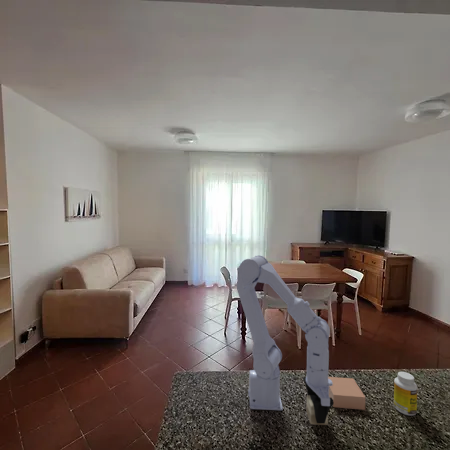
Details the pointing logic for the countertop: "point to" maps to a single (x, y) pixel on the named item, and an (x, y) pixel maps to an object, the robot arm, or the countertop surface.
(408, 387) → the supplement bottle
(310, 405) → the metal block
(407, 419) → the countertop surface
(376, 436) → the countertop surface
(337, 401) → the terracotta box
